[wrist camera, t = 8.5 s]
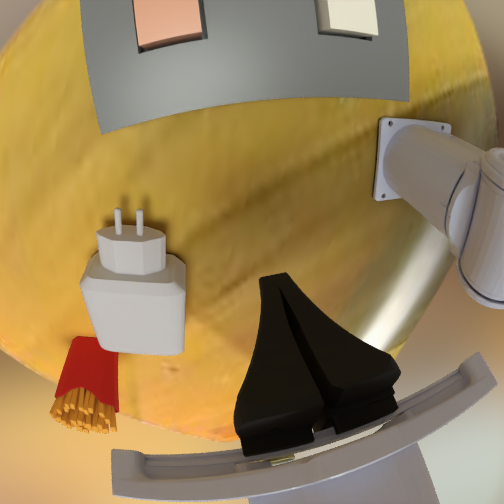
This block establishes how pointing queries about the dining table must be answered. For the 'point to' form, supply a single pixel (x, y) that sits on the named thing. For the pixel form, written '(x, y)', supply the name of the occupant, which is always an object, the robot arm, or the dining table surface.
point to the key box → (237, 59)
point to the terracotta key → (167, 22)
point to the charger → (135, 290)
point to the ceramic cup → (280, 459)
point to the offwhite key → (346, 18)
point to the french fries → (88, 388)
